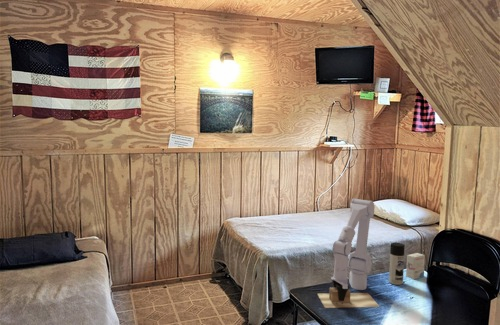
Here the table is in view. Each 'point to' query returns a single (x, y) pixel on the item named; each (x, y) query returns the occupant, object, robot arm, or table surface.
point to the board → (355, 301)
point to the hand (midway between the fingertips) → (339, 297)
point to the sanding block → (334, 296)
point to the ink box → (415, 265)
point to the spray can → (396, 263)
